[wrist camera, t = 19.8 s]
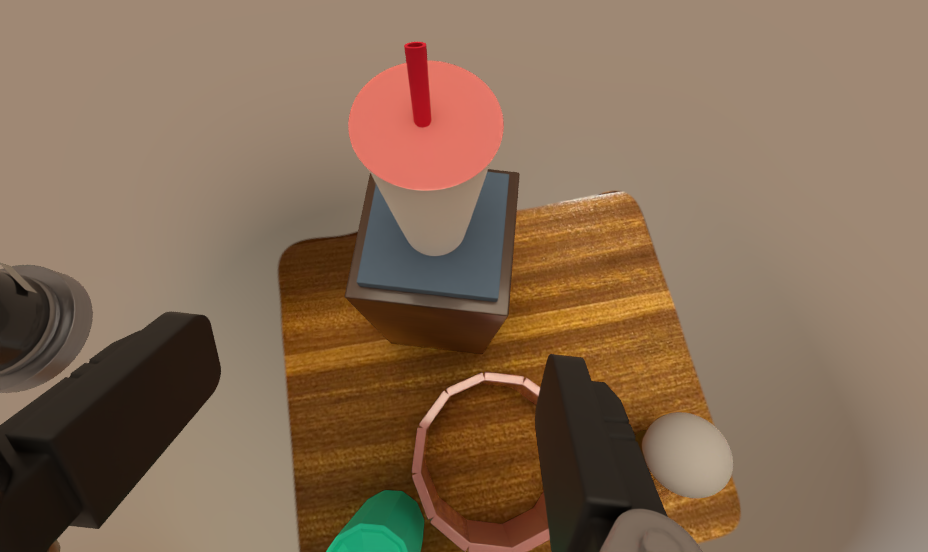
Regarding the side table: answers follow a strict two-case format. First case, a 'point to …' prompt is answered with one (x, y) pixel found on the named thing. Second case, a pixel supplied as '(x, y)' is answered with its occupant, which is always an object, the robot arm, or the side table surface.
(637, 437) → the light bulb
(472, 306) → the stand
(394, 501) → the candle
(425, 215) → the cup
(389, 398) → the side table surface
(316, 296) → the side table surface
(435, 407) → the pink segmented ring
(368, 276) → the coaster
